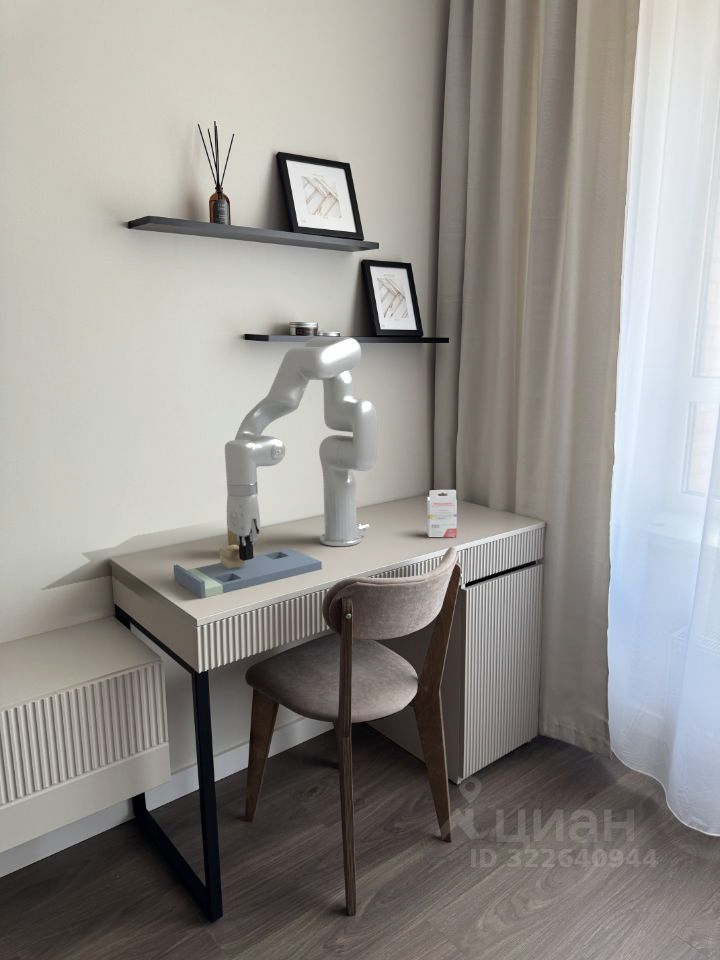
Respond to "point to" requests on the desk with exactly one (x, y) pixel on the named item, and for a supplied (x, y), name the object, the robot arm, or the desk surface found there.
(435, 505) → the ink cartridge box
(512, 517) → the desk surface
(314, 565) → the board
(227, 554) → the block
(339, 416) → the robot arm
